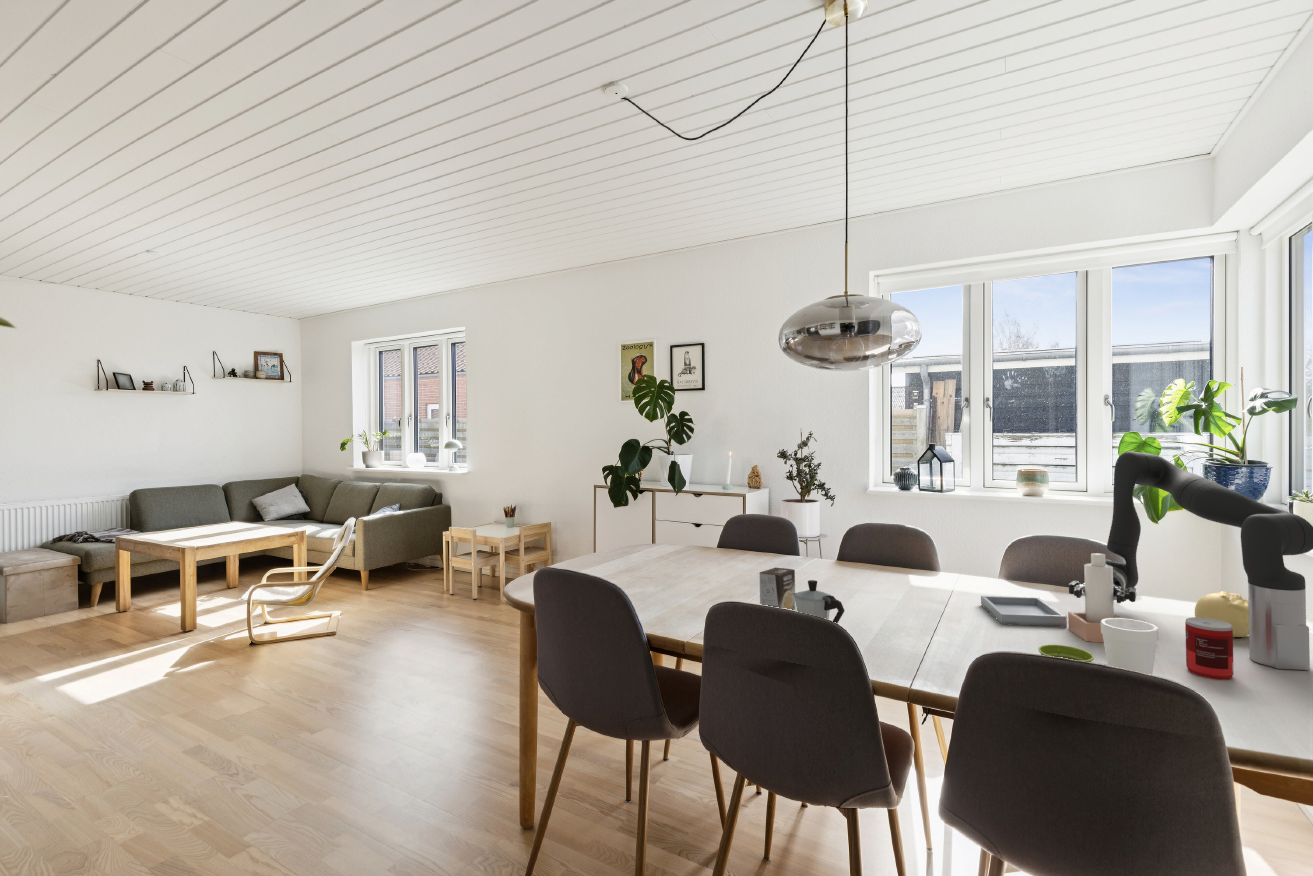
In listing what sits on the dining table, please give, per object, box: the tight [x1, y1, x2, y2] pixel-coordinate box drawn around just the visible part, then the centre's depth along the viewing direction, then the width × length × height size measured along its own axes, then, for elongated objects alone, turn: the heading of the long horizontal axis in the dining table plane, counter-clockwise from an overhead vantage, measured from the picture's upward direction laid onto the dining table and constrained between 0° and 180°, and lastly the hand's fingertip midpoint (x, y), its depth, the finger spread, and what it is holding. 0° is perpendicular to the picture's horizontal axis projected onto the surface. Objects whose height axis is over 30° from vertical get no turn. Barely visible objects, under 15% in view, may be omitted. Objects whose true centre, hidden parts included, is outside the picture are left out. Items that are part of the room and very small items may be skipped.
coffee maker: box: [792, 579, 845, 624], centre depth 153 cm, size 15×9×18 cm, turn 40°
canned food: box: [1184, 616, 1234, 681], centre depth 136 cm, size 8×8×11 cm
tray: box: [980, 595, 1068, 628], centre depth 182 cm, size 20×16×3 cm
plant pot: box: [1037, 644, 1095, 663], centre depth 127 cm, size 9×9×9 cm
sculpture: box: [1194, 590, 1249, 638], centre depth 161 cm, size 12×12×11 cm
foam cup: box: [1101, 617, 1159, 676], centre depth 130 cm, size 10×9×13 cm
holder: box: [1067, 611, 1121, 643], centre depth 162 cm, size 10×10×4 cm
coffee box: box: [759, 567, 796, 611], centre depth 175 cm, size 9×6×16 cm
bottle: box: [1083, 552, 1115, 623], centre depth 162 cm, size 6×6×21 cm
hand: (1097, 596), depth 161 cm, fingers open, 8 cm apart
